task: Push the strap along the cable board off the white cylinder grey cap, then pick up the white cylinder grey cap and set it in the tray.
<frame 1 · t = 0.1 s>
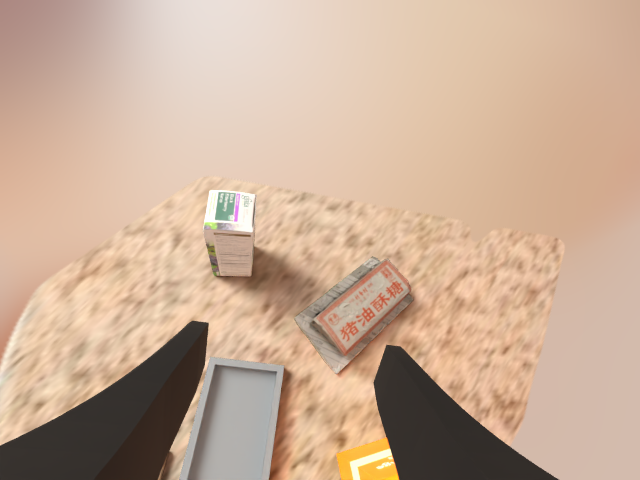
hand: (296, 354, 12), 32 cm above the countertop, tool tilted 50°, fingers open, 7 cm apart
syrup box: (235, 260, 47), on the countertop
packaged product: (354, 310, 48), on the countertop
tray: (234, 435, 36), on the countertop
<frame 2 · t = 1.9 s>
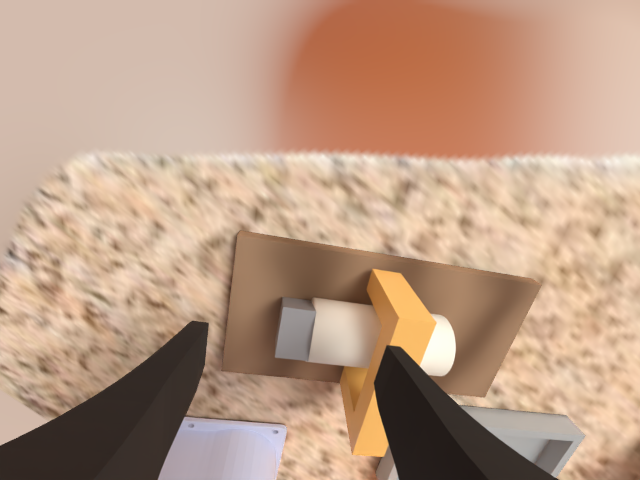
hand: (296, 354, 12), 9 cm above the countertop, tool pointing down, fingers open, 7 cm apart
strap: (377, 358, 19), point 4 cm above the countertop, slide at 0.0 cm
cable board: (376, 320, 23), on the countertop
tray: (469, 444, 29), on the countertop
white cylinder grey cap: (367, 327, 22), point 1 cm above the countertop, tilted 20°, touching cable board
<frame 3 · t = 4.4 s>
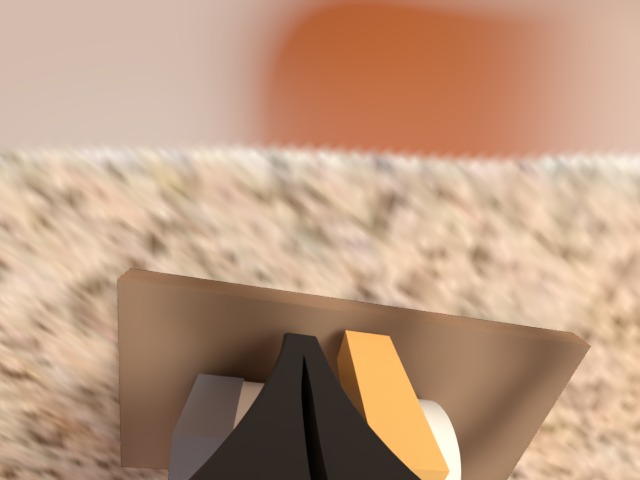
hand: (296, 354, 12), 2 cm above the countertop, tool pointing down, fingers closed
strap: (351, 477, 12), point 4 cm above the countertop, slide at 0.4 cm, touching gripper
cable board: (348, 391, 16), on the countertop
white cylinder grey cap: (332, 405, 15), point 1 cm above the countertop, tilted 5°, touching cable board
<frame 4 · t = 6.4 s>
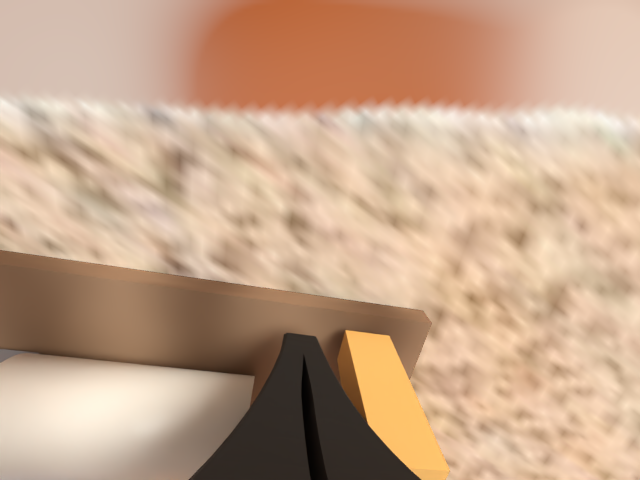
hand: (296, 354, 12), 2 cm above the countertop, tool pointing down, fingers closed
strap: (351, 477, 12), point 4 cm above the countertop, slide at 9.0 cm, touching gripper
cable board: (183, 374, 15), on the countertop
white cylinder grey cap: (152, 390, 14), point 1 cm above the countertop, tilted 16°, touching cable board
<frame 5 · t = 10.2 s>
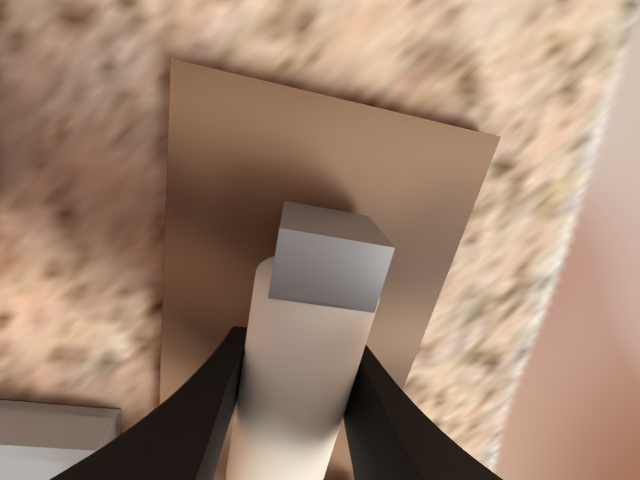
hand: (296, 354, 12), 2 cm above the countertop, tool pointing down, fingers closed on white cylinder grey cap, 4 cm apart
cable board: (291, 351, 14), on the countertop
white cylinder grey cap: (294, 348, 13), point 1 cm above the countertop, touching cable board, gripper
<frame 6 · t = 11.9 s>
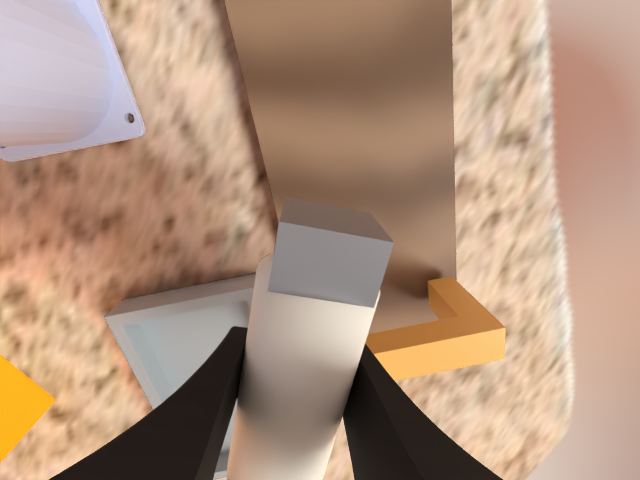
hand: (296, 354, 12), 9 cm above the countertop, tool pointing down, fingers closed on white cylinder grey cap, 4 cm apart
strap: (393, 328, 17), point 4 cm above the countertop, slide at 9.0 cm
cable board: (360, 183, 19), on the countertop
tray: (226, 377, 23), on the countertop
white cylinder grey cap: (296, 345, 13), point 8 cm above the countertop, touching gripper
when the fingers open (3 cm above the countertop, at t = 14.0 s): white cylinder grey cap stays where it is, resting on tray.
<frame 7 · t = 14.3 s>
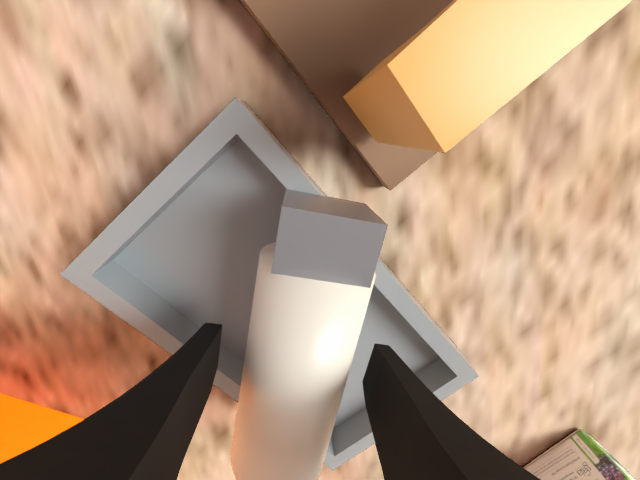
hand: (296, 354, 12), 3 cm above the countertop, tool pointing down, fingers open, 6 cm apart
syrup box: (561, 463, 21), on the countertop
tray: (296, 306, 15), on the countertop
orange juice: (19, 443, 17), on the countertop
white cylinder grey cap: (296, 334, 13), point 2 cm above the countertop, touching tray
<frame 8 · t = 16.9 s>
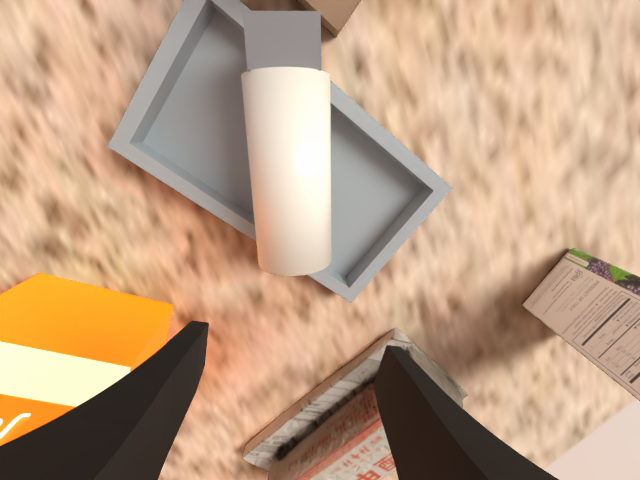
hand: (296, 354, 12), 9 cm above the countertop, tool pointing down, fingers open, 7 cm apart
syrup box: (565, 290, 23), on the countertop
packaged product: (350, 410, 27), on the countertop
tray: (291, 164, 18), on the countertop
orange juice: (105, 331, 22), on the countertop
white cylinder grey cap: (292, 173, 17), point 2 cm above the countertop, touching tray
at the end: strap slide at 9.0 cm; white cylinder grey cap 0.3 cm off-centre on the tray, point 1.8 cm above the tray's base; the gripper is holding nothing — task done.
